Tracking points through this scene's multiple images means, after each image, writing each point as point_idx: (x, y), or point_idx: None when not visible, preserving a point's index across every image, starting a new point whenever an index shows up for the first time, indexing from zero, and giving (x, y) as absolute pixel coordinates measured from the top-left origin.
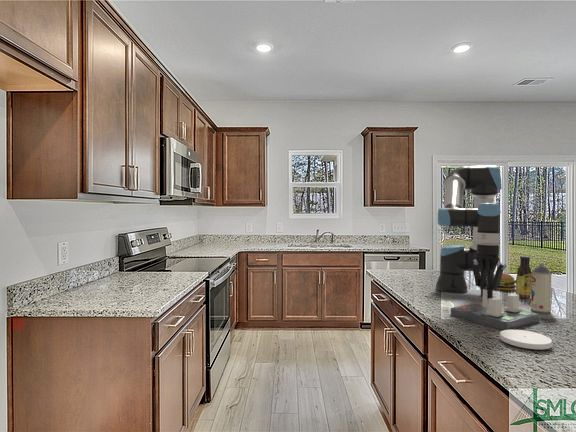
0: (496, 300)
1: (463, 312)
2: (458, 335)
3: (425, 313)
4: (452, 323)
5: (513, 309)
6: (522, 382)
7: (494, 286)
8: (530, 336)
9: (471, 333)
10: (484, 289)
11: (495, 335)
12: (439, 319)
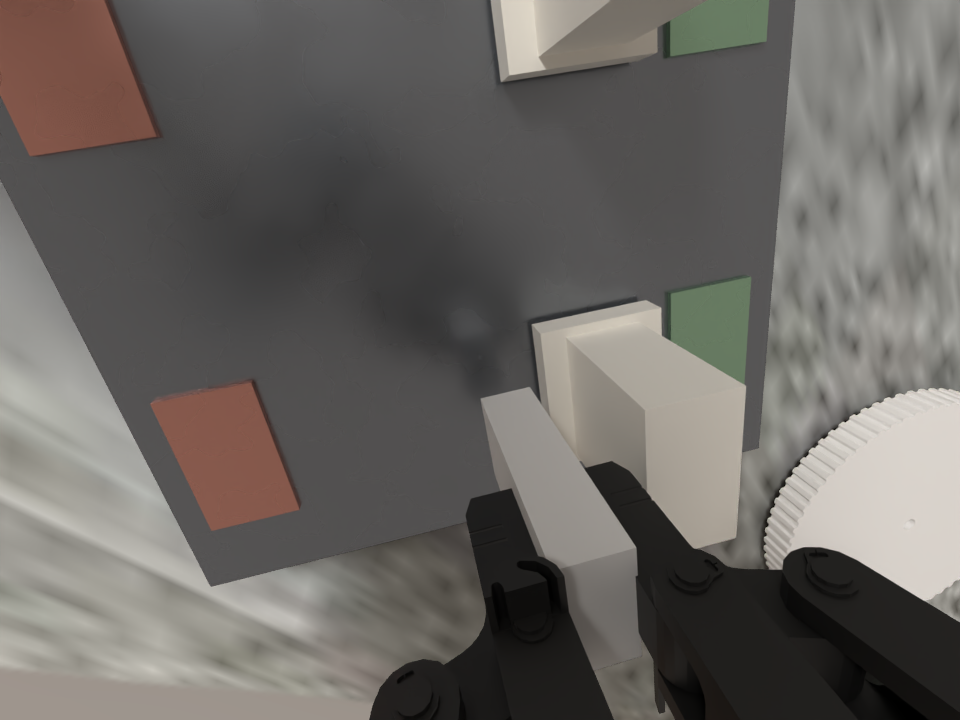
0: (731, 517)
1: (360, 540)
2: (616, 705)
3: (124, 671)
4: (434, 629)
5: (639, 47)
6: None
7: (864, 707)
8: (930, 497)
9: None
10: (592, 665)
11: (717, 544)
12: (320, 657)
